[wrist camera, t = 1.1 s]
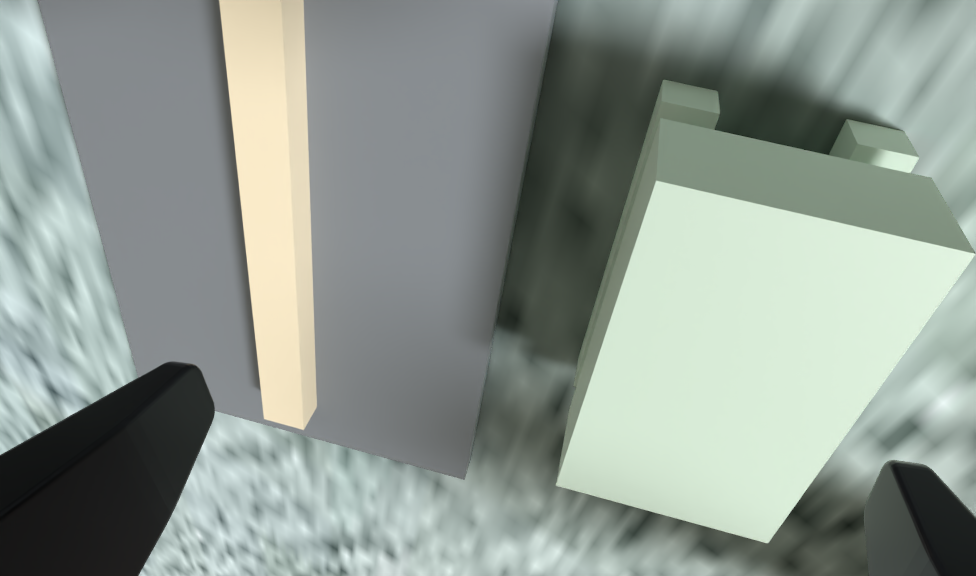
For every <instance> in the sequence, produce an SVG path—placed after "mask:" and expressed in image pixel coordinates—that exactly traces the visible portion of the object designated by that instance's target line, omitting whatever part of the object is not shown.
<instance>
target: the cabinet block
mask: <svg viewBox="0 0 976 576" xmlns="http://www.w3.org/2000/svg"><path fill="white" fill-rule="evenodd" d="M719 116H720V107H719V96H718V91H715V90H710V89H705V88H701V87H696V86H692V85H687V84H682V83H678V82H673V81H668V80H664V79H663V81H662V85H661V88H660V91H659V94H658V98H657V101H656V104H655V108H654V111H653V114H652V117H651V121H650V124H649V127H648V131H647V134H646V137H645V140H644V144H643V147H642V150H641V154H640V157H639V160H638V163H637V167H636V170H635V173H634V177H633V180H632V183H631V186H630V190H629V193H628V196H627V200H626V203H625V206H624V209H623V213H622V216H621V219H620V223H619V226H618V229H617V232H616V236H615V239H614V242H613V246H612V249H611V252H610V255H609V259H608V262H607V265H606V269H605V272H604V275H603V279H602V282H601V285H600V288H599V292H598V295H597V298H596V302H595V305H594V308H593V311H592V315H591V318H590V321H589V325H588V328H587V331H586V334H585V338H584V341H583V344H582V348H581V351H580V354H579V358H578V363H577V369H576V374H575V380H574V387H576V389H575V392H574V396H573V399H572V402H571V405H570V408H569V414H568V419H567V425H566V431H565V436H564V442H563V448H562V453H561V459H560V465H559V470H558V476H557V481H556V486H559V487H563V488H567V489H570V490H574V491H578V492H581V493H585V494H589V495H592V496H596V497H600V498H603V499H607V500H611V501H614V502H618V503H622V504H625V505H629V506H633V507H636V508H640V509H643V510H647V511H651V512H654V513H658V514H662V515H665V516H669V517H673V518H676V519H680V520H684V521H687V522H691V523H695V524H698V525H702V526H706V527H709V528H713V529H717V530H720V531H724V532H728V533H731V534H735V535H739V536H742V537H746V538H750V539H753V540H757V541H761V542H764V543H769V541H770V540H771V538H772V537H773V536H774V534H775V533H776V531H777V530H778V529H779V527H780V526H781V524H782V523H783V522H784V520H785V519H786V518H787V516H788V515H789V513H790V512H791V511H792V509H793V508H794V506H795V505H796V504H797V502H798V501H799V499H800V498H801V497H802V495H803V494H804V492H805V491H806V490H807V488H808V487H809V485H810V484H811V483H812V481H813V480H814V479H815V477H816V476H817V474H818V473H819V472H820V470H821V469H822V467H823V466H824V465H825V463H826V462H827V460H828V459H829V458H830V456H831V455H832V453H833V452H834V451H835V449H836V448H837V447H838V445H839V444H840V442H841V441H842V440H843V438H844V437H845V435H846V434H847V433H848V431H849V430H850V428H851V427H852V426H853V424H854V423H855V421H856V420H857V419H858V417H859V416H860V414H861V413H862V412H863V410H864V409H865V408H866V406H867V405H868V403H869V402H870V401H871V399H872V398H873V396H874V395H875V394H876V392H877V391H878V389H879V388H880V387H881V385H882V384H883V382H884V381H885V380H886V378H887V377H888V375H889V374H890V373H891V371H892V370H893V369H894V367H895V366H896V364H897V363H898V362H899V360H900V359H901V357H902V356H903V355H904V353H905V352H906V350H907V349H908V348H909V346H910V345H911V343H912V342H913V341H914V339H915V338H916V336H917V335H918V334H919V332H920V331H921V330H922V328H923V327H924V325H925V324H926V323H927V321H928V320H929V318H930V317H931V316H932V314H933V313H934V311H935V310H936V309H937V307H938V306H939V304H940V303H941V302H942V300H943V299H944V297H945V296H946V295H947V293H948V292H949V291H950V289H951V288H952V286H953V285H954V284H955V282H956V281H957V279H958V278H959V277H960V275H961V274H962V272H963V271H964V270H965V268H966V267H967V265H968V264H969V263H970V261H971V260H972V259H973V257H974V256H975V252H974V250H973V248H972V247H971V245H970V243H969V242H968V240H967V238H966V236H965V235H964V233H963V231H962V230H961V228H960V226H959V224H958V223H957V221H956V219H955V218H954V216H953V214H952V212H951V211H950V209H949V207H948V206H947V204H946V202H945V200H944V199H943V197H942V195H941V194H940V192H939V190H938V188H937V187H936V185H935V183H934V182H933V180H932V178H930V177H925V176H921V175H916V174H911V171H912V169H913V167H914V166H915V164H916V162H917V161H918V159H919V156H918V154H917V153H916V151H915V149H914V147H913V146H912V144H911V142H910V141H909V139H908V137H907V135H906V134H905V132H904V131H900V130H895V129H891V128H886V127H881V126H877V125H872V124H868V123H863V122H858V121H854V120H849V119H846V121H845V123H844V125H843V127H842V129H841V131H840V133H839V135H838V137H837V139H836V141H835V143H834V145H833V147H832V149H831V151H830V153H829V155H826V154H821V153H816V152H812V151H807V150H803V149H798V148H794V147H789V146H785V145H780V144H776V143H771V142H767V141H762V140H758V139H753V138H749V137H744V136H740V135H735V134H731V133H726V132H721V131H717V130H714V129H715V127H716V124H717V121H718V118H719Z"/></svg>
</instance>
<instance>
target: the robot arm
mask: <svg viewBox="0 0 976 576" xmlns="http://www.w3.org/2000/svg"><path fill="white" fill-rule="evenodd" d="M214 413H215V406H214V401H213V399H212V396H211V394H210V391H209V389H208V386H207V384H206V381H205V379H204V376H203V374H202V371H201V370H200V368H199V367H198V366H196V365H195V364H191V363H183V362H176V361H170V362H166V363H164V364H162V365H160V366H158V367H157V368H155V369H153V370H151V371H149V372H148V373H146V374H144V375H142V376H140V377H139V378H137V379H135V380H133V381H132V382H130V383H128V384H126V385H124V386H123V387H121V388H119V389H117V390H115V391H114V392H112V393H110V394H108V395H107V396H105V397H103V398H101V399H99V400H98V401H96V402H94V403H92V404H91V405H89V406H87V407H85V408H83V409H82V410H80V411H78V412H76V413H74V414H73V415H71V416H69V417H67V418H66V419H64V420H62V421H60V422H58V423H57V424H55V425H53V426H51V427H49V428H48V429H46V430H44V431H42V432H41V433H39V434H37V435H35V436H33V437H32V438H30V439H28V440H26V441H24V442H23V443H21V444H19V445H17V446H16V447H14V448H12V449H10V450H8V451H7V452H5V453H3V454H1V455H0V576H138V575H139V574H140V572H141V570H142V568H143V566H144V565H145V563H146V561H147V559H148V557H149V556H150V554H151V552H152V550H153V548H154V547H155V545H156V543H157V541H158V539H159V538H160V536H161V534H162V532H163V530H164V528H165V527H166V525H167V523H168V521H169V519H170V517H171V515H172V513H173V511H174V509H175V507H176V504H177V502H178V500H179V498H180V496H181V493H182V491H183V489H184V486H185V484H186V482H187V479H188V477H189V475H190V472H191V470H192V468H193V465H194V463H195V461H196V458H197V456H198V454H199V452H200V449H201V447H202V445H203V442H204V440H205V438H206V435H207V433H208V431H209V428H210V426H211V424H212V421H213V418H214ZM864 525H865V536H866V547H867V558H868V569H869V576H976V517H975V516H974V515H973V513H972V512H971V511H970V510H969V509H968V508H967V507H966V506H965V505H964V504H963V503H962V501H961V500H960V499H959V498H958V497H957V496H956V495H955V494H954V493H953V492H952V491H951V490H950V488H949V487H948V486H947V485H946V484H945V483H944V482H943V481H942V480H941V479H940V478H939V476H938V475H937V474H936V473H935V472H934V471H933V470H932V469H930V468H929V467H928V466H926V465H923V464H919V463H912V462H904V461H897V460H890V461H888V462H886V463H885V464H884V466H883V467H882V469H881V471H880V473H879V476H878V478H877V480H876V482H875V484H874V486H873V488H872V491H871V493H870V495H869V497H868V499H867V502H866V505H865V511H864Z"/></svg>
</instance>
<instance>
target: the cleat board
mask: <svg viewBox="0 0 976 576" xmlns="http://www.w3.org/2000/svg"><path fill="white" fill-rule="evenodd" d="M38 3H39V7H40V10H41V14H42V18H43V22H44V25H45V29H46V33H47V37H48V40H49V44H50V48H51V52H52V55H53V59H54V63H55V67H56V70H57V74H58V78H59V82H60V86H61V89H62V93H63V97H64V101H65V104H66V108H67V112H68V116H69V119H70V123H71V127H72V131H73V134H74V138H75V142H76V146H77V149H78V153H79V157H80V161H81V164H82V168H83V172H84V176H85V179H86V183H87V187H88V191H89V194H90V198H91V202H92V206H93V209H94V213H95V217H96V221H97V224H98V228H99V232H100V236H101V239H102V243H103V247H104V251H105V254H106V258H107V262H108V266H109V269H110V273H111V277H112V281H113V284H114V288H115V292H116V296H117V299H118V303H119V307H120V311H121V315H122V318H123V322H124V326H125V330H126V333H127V337H128V341H129V345H130V348H131V352H132V356H133V360H134V363H135V367H136V371H137V375H138V378H139V377H140V376H142V375H144V374H146V373H148V372H149V371H151V370H153V369H155V368H157V367H158V366H160V365H162V364H164V363H166V362H170V361H176V362H183V363H191V364H195V365H196V366H198V367H199V368H200V370H201V371H202V374H203V376H204V379H205V381H206V384H207V386H208V389H209V391H210V394H211V396H212V399H213V401H214V406H215V411H217V412H221V413H225V414H228V415H232V416H236V417H239V418H243V419H246V420H250V421H254V422H257V423H261V424H265V425H268V426H272V427H275V428H279V429H283V430H286V431H290V432H294V433H297V434H301V435H304V436H308V437H312V438H315V439H319V440H323V441H326V442H330V443H333V444H337V445H341V446H344V447H348V448H352V449H355V450H359V451H362V452H366V453H370V454H373V455H377V456H381V457H384V458H388V459H391V460H395V461H399V462H402V463H406V464H410V465H413V466H417V467H420V468H424V469H428V470H431V471H435V472H439V473H442V474H446V475H449V476H453V477H457V478H460V479H465V476H466V473H467V470H468V466H469V463H470V460H471V454H472V449H473V444H474V439H475V433H476V428H477V423H478V418H479V413H480V407H481V402H482V397H483V392H484V386H485V381H486V376H487V371H488V365H489V360H490V355H491V350H492V344H493V339H494V334H495V329H496V323H497V318H498V313H499V308H500V302H501V297H502V292H503V287H504V282H505V276H506V271H507V266H508V261H509V255H510V250H511V245H512V240H513V234H514V229H515V224H516V219H517V213H518V208H519V203H520V198H521V192H522V187H523V182H524V177H525V171H526V166H527V161H528V156H529V151H530V145H531V140H532V135H533V130H534V124H535V119H536V114H537V109H538V103H539V98H540V93H541V88H542V82H543V77H544V72H545V67H546V61H547V56H548V51H549V46H550V41H551V35H552V30H553V25H554V20H555V14H556V9H557V4H558V0H38Z"/></svg>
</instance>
